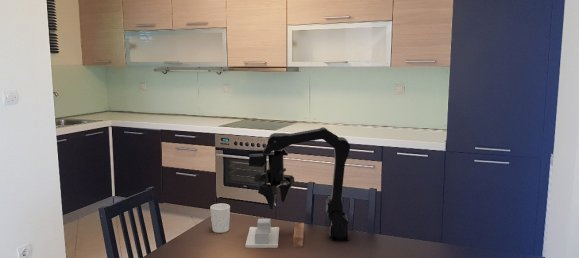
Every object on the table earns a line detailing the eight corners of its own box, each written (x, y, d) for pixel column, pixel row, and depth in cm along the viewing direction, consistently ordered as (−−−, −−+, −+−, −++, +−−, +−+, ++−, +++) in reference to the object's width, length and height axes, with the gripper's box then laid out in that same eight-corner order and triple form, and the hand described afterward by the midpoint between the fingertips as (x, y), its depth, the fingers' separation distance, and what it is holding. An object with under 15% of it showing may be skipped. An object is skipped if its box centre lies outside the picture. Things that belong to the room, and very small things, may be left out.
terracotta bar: (303, 232, 190) (303, 222, 189) (302, 247, 175) (302, 237, 174) (295, 232, 190) (295, 222, 189) (293, 247, 175) (293, 237, 175)
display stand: (279, 229, 192) (279, 217, 191) (277, 247, 174) (277, 234, 173) (250, 229, 192) (249, 217, 191) (245, 247, 174) (245, 234, 173)
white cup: (220, 235, 186) (220, 211, 185) (207, 230, 191) (206, 207, 189) (234, 229, 192) (233, 205, 191) (220, 224, 197) (220, 202, 196)
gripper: (270, 159, 190) (271, 196, 193) (245, 170, 174) (246, 210, 177) (294, 161, 185) (295, 199, 188) (270, 173, 169) (272, 214, 172)
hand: (277, 205), depth 181 cm, fingers open, 9 cm apart
